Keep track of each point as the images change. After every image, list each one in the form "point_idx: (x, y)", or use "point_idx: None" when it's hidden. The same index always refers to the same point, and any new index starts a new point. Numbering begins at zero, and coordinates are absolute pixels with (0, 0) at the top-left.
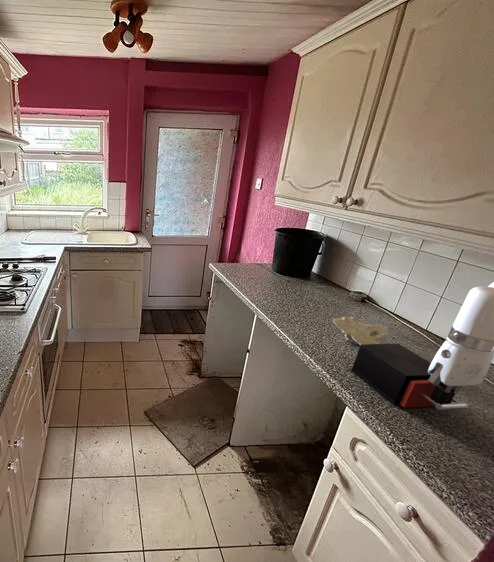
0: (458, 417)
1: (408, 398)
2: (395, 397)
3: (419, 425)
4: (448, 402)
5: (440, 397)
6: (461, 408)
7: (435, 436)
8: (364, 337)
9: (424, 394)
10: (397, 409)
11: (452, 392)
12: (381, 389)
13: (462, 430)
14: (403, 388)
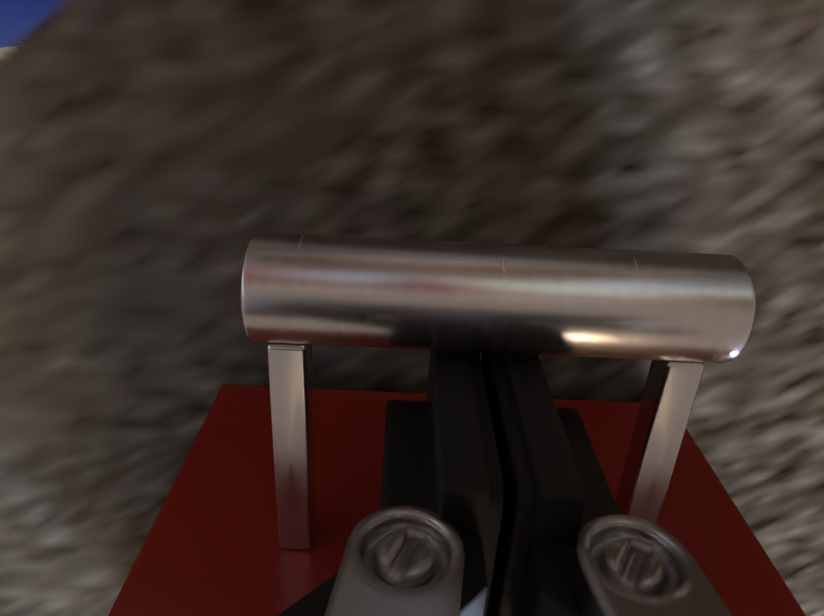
0: (165, 247)
1: (713, 485)
2: None
3: (726, 202)
4: (470, 361)
5: (592, 448)
6: (364, 240)
7: (742, 46)
8: None
9: (647, 518)
10: None
11: (473, 516)
12: None
13: (319, 84)
14: None
